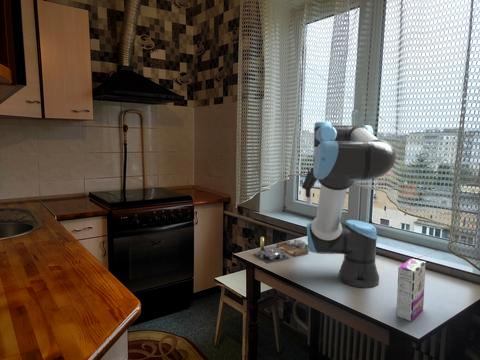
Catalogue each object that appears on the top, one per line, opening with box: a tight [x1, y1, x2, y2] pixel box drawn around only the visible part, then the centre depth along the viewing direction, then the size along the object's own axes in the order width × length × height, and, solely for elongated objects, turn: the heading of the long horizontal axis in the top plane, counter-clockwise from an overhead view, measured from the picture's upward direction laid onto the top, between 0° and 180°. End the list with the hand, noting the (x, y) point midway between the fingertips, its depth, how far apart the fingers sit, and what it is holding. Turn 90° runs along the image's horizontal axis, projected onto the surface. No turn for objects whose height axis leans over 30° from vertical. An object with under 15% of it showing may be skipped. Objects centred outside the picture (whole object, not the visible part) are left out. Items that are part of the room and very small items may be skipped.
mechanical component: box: [286, 239, 309, 250], centre depth 168 cm, size 3×10×10 cm
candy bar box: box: [396, 258, 427, 322], centre depth 105 cm, size 11×5×16 cm, turn 135°
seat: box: [276, 240, 309, 258], centre depth 164 cm, size 15×8×2 cm, turn 29°
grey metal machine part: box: [257, 236, 286, 259], centre depth 155 cm, size 13×13×8 cm
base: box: [253, 252, 290, 264], centre depth 156 cm, size 12×12×1 cm
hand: (320, 202), depth 150 cm, fingers open, 13 cm apart
